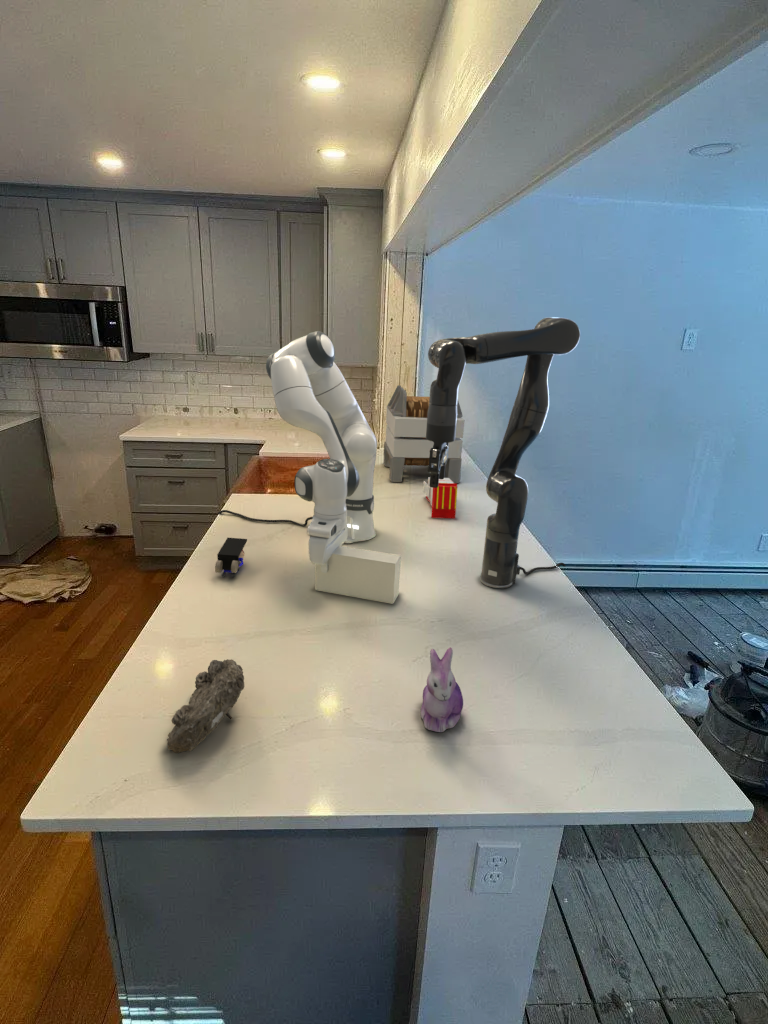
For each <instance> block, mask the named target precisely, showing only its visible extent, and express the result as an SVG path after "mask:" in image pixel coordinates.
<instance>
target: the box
mask: <svg viewBox="0 0 768 1024" xmlns="http://www.w3.org/2000/svg"><path fill="white" fill-rule="evenodd" d="M401 559H402V554H396V553H390V552H382V551H377V550H370V549H363V548H358V547H350V546H344V545H341V546H339V547H338V548H337V549H336V550H335V551H334V552H333V553H332V556H331V557H330V558H329V559H328V562H327V564H328V565H329V570H328V572H327V573H322V572H321V566H320V565H316V564H314V590H315V591H319V592H324V593H330V594H335V595H340V596H346V597H351V598H352V597H353V598H357V599H363V600H367V601H375V602H381V603H385V604H391V605H393V604H395V602H396V600H397V598H398V596H399V594H400V579H401V561H402V560H401Z"/></svg>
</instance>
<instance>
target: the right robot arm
mask: <svg viewBox="0 0 768 1024" xmlns="http://www.w3.org/2000/svg"><path fill="white" fill-rule="evenodd" d="M580 338H581V330H580V327H579V325H578V324H577V323H576V322H575V321H574V320H572V319H570V318H567V317H557V316H556V317H555V316H548V317H547V316H546V317H543V318H542V319H540V320H539V321H538V322H537V323H536V325H535V326H534V328H532V329H523V330H522V329H521V330H505V331H503V330H502V331H495V332H486V333H481V334H476V335H471V336H461V337H448V338H441V339H438V340H436V341H434V342H433V343H432V344H431V345H430V347H429V349H428V352H427V358H428V360H429V362H430V364H431V365H432V366H433V367H435V368H436V369H438V370H437V375H436V379H434V380H433V381H432V382H431V384H430V388H429V389H430V390H429V397H430V399H429V408H428V413H427V428H426V439H427V440H429V441H432V442H434V445H433V448H431V449H430V457H429V465H428V469H427V472H428V473H429V477H430V485H429V486H430V487H433V488H437V487H438V484H439V479H444V475H445V466H444V465H446V464H447V462H446V461H447V460H448V447H449V443H450V442H453V441H454V440H455V435H456V423H457V400H458V401H459V388H460V384H461V381H462V379H463V375H464V371H465V367H466V364H468V365H469V364H470V365H481V364H488V363H493V362H497V361H503V360H508V359H509V360H510V359H513V358H520V357H525V356H526V360H525V361H526V362H525V366H524V370H523V373H522V377H521V379H520V383H519V387H518V391H517V394H516V397H515V399H514V403H513V405H512V409H511V412H510V415H509V420H508V423H507V426H506V430H505V432H504V436H503V439H502V441H501V442H502V443H501V444H500V447H499V451H498V453H497V455H496V458H495V460H494V462H493V465H492V467H491V470H490V473H489V474H488V477H487V481H486V484H485V491H486V494H487V496H488V497H489V498H490V499H491V500H492V501H494V502H495V503H497V504H496V505H497V506H496V511H495V513H491V514H490V515H488V517H487V519H486V528H485V536H484V537H485V538H484V546H483V555H482V563H481V573H480V582H481V583H482V584H483V585H485V586H486V587H488V588H493V589H508V588H510V587H512V585H515V584H516V579H517V576H519V575H520V572H523V574H524V575H527V576H528V575H531V573H533V572H535V571H539V570H554V569H557V568H558V567H560V566H563V567H566V566H567V565H566V564H565V563H564V562H559V563H557V564H555V565H556V566H557V567H556V566H555V565H552V566H538V567H534V568H531V569H530V570H528V571H527V570H526V569H525V568H524V567H522V566H520V565H519V559H520V554H519V553H518V552H517V550H518V544H519V543H518V542H519V534H520V527H521V525H522V523H523V521H524V519H525V514H526V509H527V504H528V498H529V485H528V483H527V481H526V479H524V478H522V476H519V475H517V471H518V467H519V465H520V463H521V462H520V461H521V459H522V457H523V455H524V453H525V452H526V451H527V450H528V448H529V447H530V446H532V444H533V443H534V442H535V441H536V439H537V438H538V437H539V435H540V434H541V432H542V430H543V427H544V424H545V421H546V419H547V416H548V412H549V408H550V395H549V394H550V391H549V380H548V379H549V371H550V367H551V364H552V361H553V358H554V356H563V355H567V354H569V353H571V352H572V351H573V350H574V349H576V347H577V346H578V344H579V342H580ZM434 465H436V466H434Z"/></svg>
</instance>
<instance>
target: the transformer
mask: <svg viewBox="0 0 768 1024" xmlns="http://www.w3.org/2000/svg"><path fill="white" fill-rule="evenodd" d="M407 394H408V393H407V390H406V389H404V388H403V387H402V385H399V384H398V385H397V386H396V388H395V390H394V392H393V394H392V395H391V398H390V400H389V402H388V404H387V405H386V413H385V414H386V415H385V423H386V428H385V438H384V442H383V466H384V467H388V468H389V475H388V476H389V477H388V478H389V480H390V482H391V483H402V482H403V475H404V469H405V466H406V467H407V466H411V467H412V466H413V467H415V466H416V467H417V466H418V467H429V457H430V449H431V448H433V445H434V442H432V441H429V440H427V439H426V428H427V413H428V408H429V399H430V396H415V395H414V396H413V395H412V396H411V395H407ZM464 429H465V419H464V418H463V411H462V408H461V405H460V402H459V399H458V400H457V423H456V435H455V440H454V441H453V442H450V443H449V447H448V460H447V461H446V462H447V464H446V465H444V466H445V475H444V478H449V479H450V480H451V481H452V482H453V483H454V484H459V483H461V472H462V461H463V460H462V453H463V442H464V441H463V440H462V439H463V438H464V431H465V430H464ZM433 467H436V465H434V466H433Z"/></svg>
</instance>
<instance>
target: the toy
mask: <svg viewBox="0 0 768 1024" xmlns="http://www.w3.org/2000/svg"><path fill="white" fill-rule="evenodd" d="M429 485H430V476H428V477H427V482H426V481H425V480H423V484H422V493H424V494H425V498H426V500H427V501H428V502H429V504H430V506H431V517H430V518H432V519H456V514H457V513H456V512H457V498H458V483H453V482H452V481H451V480H450V479H449V478H444V479H439V484H438V487H437V488H433V487H430V486H429Z"/></svg>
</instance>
